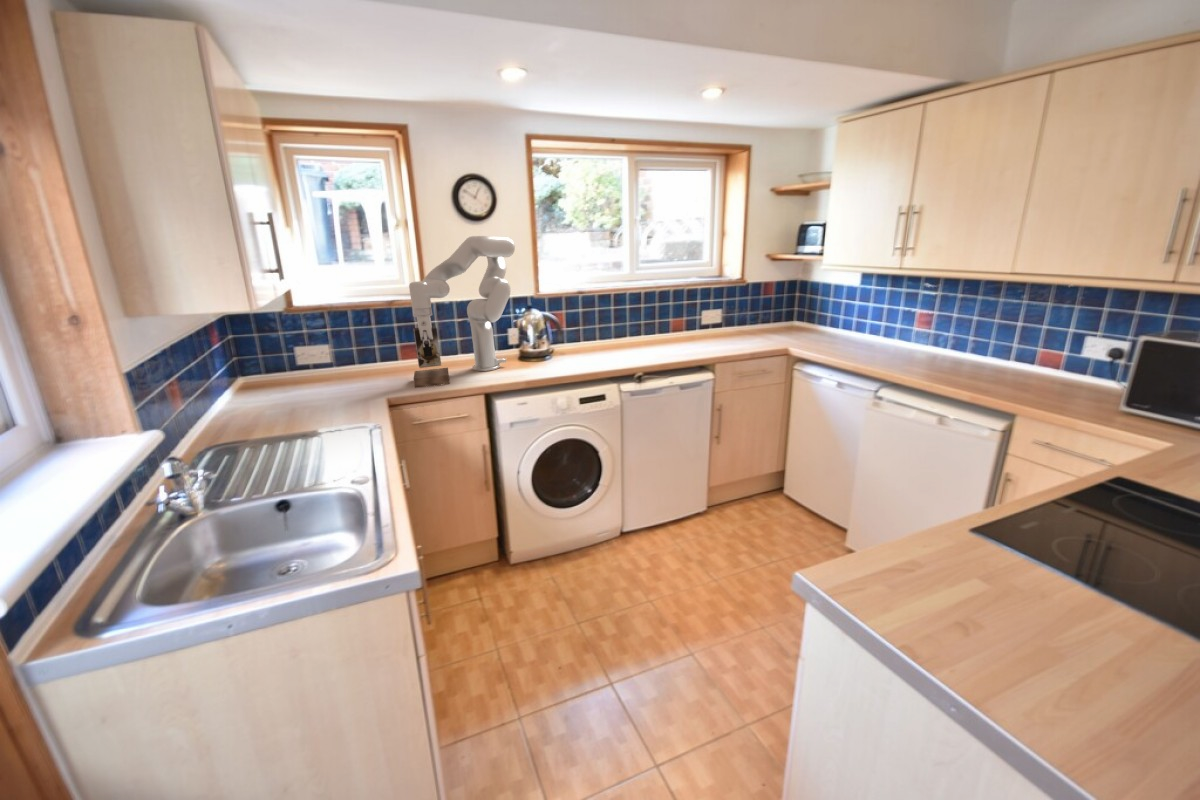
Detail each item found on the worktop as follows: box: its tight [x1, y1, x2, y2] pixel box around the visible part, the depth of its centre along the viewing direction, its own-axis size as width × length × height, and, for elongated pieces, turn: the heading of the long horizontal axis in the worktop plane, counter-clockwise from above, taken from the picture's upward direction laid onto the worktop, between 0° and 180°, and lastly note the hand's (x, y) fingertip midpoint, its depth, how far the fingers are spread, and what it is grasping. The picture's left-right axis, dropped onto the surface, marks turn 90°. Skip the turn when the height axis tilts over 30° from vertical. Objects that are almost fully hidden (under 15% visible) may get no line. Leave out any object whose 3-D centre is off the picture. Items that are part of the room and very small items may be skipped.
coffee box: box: [413, 325, 442, 369], centre depth 222 cm, size 9×6×16 cm
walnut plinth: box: [413, 367, 451, 389], centre depth 226 cm, size 14×13×4 cm
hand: (428, 354), depth 223 cm, fingers closed on coffee box, 6 cm apart
